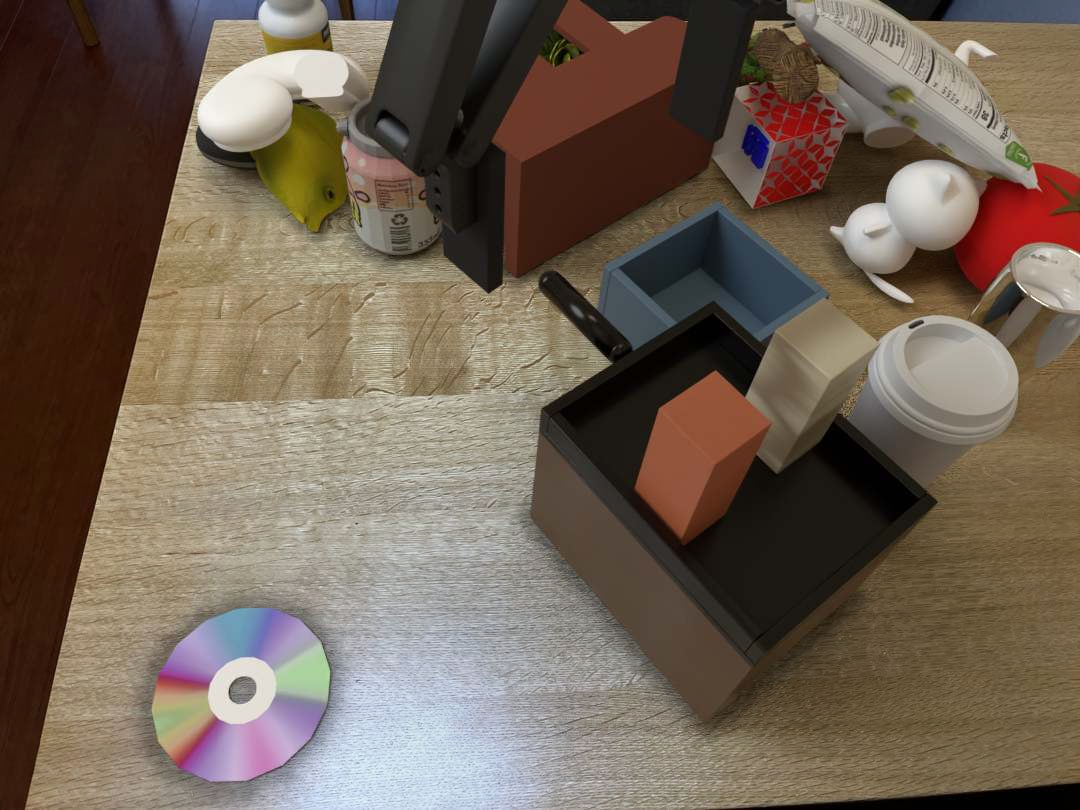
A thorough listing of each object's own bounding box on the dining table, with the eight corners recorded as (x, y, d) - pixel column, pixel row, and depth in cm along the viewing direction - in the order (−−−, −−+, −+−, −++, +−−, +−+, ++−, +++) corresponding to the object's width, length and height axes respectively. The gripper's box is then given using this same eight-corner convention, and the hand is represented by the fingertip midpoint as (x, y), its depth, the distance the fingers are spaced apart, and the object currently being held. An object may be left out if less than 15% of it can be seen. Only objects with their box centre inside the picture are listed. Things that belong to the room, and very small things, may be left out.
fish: (284, 228, 76) (385, 218, 82) (226, 68, 77) (328, 70, 84) (274, 243, 78) (373, 232, 84) (218, 87, 80) (318, 87, 86)
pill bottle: (332, 111, 88) (313, 4, 78) (268, 106, 88) (241, -3, 78) (344, 72, 92) (328, -36, 82) (283, 66, 92) (259, -43, 82)
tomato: (915, 206, 82) (993, 123, 73) (1025, 221, 86) (1112, 145, 77) (962, 334, 75) (1054, 260, 67) (1079, 345, 79) (1182, 277, 70)
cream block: (820, 441, 55) (881, 343, 46) (776, 475, 53) (831, 379, 45) (774, 398, 56) (824, 296, 48) (730, 429, 55) (774, 330, 46)
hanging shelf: (708, 167, 86) (519, 17, 98) (740, 49, 75) (523, -103, 87) (516, 278, 77) (333, 98, 89) (521, 162, 66) (312, -25, 78)
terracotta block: (725, 514, 51) (772, 422, 43) (676, 552, 50) (715, 464, 42) (679, 466, 53) (715, 369, 45) (630, 501, 52) (658, 408, 43)
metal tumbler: (1016, 394, 73) (1125, 273, 61) (983, 449, 70) (1091, 332, 58) (939, 351, 76) (1030, 225, 63) (904, 401, 72) (992, 279, 60)
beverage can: (354, 188, 82) (336, 78, 72) (444, 186, 83) (439, 76, 73) (352, 262, 77) (333, 154, 67) (448, 258, 78) (443, 151, 68)
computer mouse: (252, 75, 86) (257, 112, 89) (176, 134, 78) (183, 172, 81) (316, 96, 85) (318, 132, 88) (245, 158, 77) (251, 196, 80)
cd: (254, 819, 52) (255, 819, 52) (365, 658, 58) (365, 659, 58) (112, 722, 55) (113, 723, 55) (231, 578, 61) (231, 578, 61)
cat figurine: (856, 221, 84) (971, 143, 76) (905, 318, 82) (1029, 249, 73) (807, 217, 79) (925, 133, 70) (858, 321, 76) (987, 248, 68)
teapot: (1001, 94, 78) (996, -1, 80) (776, 137, 88) (775, 51, 89) (1003, 139, 87) (998, 52, 88) (797, 173, 96) (795, 94, 98)
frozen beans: (761, 47, 67) (1014, 223, 70) (812, -24, 64) (1075, 165, 67) (766, -8, 83) (971, 137, 87) (806, -67, 80) (1018, 87, 83)
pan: (850, 595, 63) (939, 501, 50) (704, 724, 57) (765, 653, 45) (601, 347, 74) (625, 220, 62) (459, 434, 68) (454, 314, 56)
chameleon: (924, -11, 91) (779, 6, 100) (818, 30, 70) (648, 47, 79) (922, 58, 93) (781, 69, 103) (819, 117, 73) (655, 124, 82)
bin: (801, 352, 75) (831, 294, 68) (695, 426, 70) (716, 371, 63) (699, 262, 80) (717, 200, 73) (593, 326, 75) (603, 265, 69)
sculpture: (228, 82, 81) (193, -1, 75) (387, 70, 79) (365, -16, 73) (194, 166, 74) (151, 82, 67) (369, 154, 72) (342, 67, 66)
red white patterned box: (821, 189, 86) (849, 123, 79) (752, 209, 84) (775, 143, 77) (777, 138, 90) (800, 71, 83) (711, 156, 88) (729, 88, 81)
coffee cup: (904, 421, 71) (994, 300, 59) (950, 527, 66) (1059, 419, 54) (792, 431, 70) (859, 310, 58) (829, 540, 65) (912, 433, 52)
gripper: (862, -590, 27) (712, 41, 44) (94, -481, 16) (297, 286, 34) (1091, -535, 24) (833, 115, 41) (339, -361, 13) (421, 407, 31)
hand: (592, 193), depth 38 cm, fingers open, 13 cm apart
